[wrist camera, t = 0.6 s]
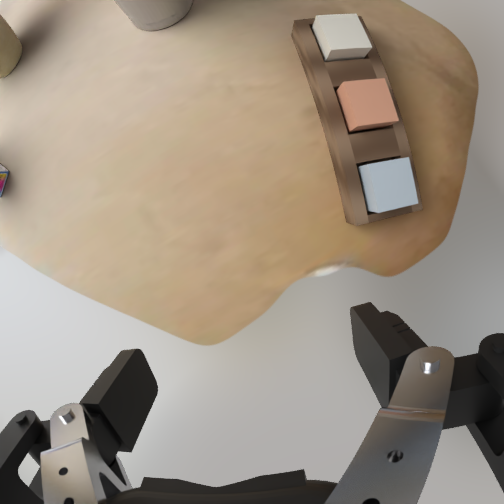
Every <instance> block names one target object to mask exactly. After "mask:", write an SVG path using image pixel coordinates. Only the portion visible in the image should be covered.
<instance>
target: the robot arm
mask: <svg viewBox="0 0 504 504" xmlns="http://www.w3.org/2000/svg"><path fill="white" fill-rule="evenodd" d="M114 1H115V2H116V3H117V4H118V6H119V7H120V8H121V9H122V10H123V12H124V13H125V14H126V15H127V16H128V18H129V19H130V20H131V21H132V22H133V24H134V25H135V26H136V27H137V28H139V29H142V30H146V31H154V30H160V29H163V28H166V27H169V26H171V25H173V24H175V23H176V22H178V21H179V20H180V19H182V18H183V17H184V16H185V15H186V14H187V13H188V11H189V10H190V8H191V5H192V0H114ZM350 315H351V324H352V334H353V344H354V350H355V354H356V357H357V360H358V362H359V363H360V365H361V367H362V369H363V371H364V373H365V375H366V377H367V379H368V381H369V383H370V385H371V387H372V389H373V391H374V393H375V395H376V397H377V399H378V401H379V403H380V405H381V407H382V408H380V410H379V411H378V413H377V415H376V417H375V419H374V421H373V423H372V425H371V427H370V429H369V431H368V433H367V435H366V437H365V438H364V440H363V442H362V444H361V446H360V448H359V450H358V451H357V453H356V455H355V457H354V458H353V460H352V462H351V463H350V465H349V467H348V468H347V470H346V472H345V473H344V475H343V476H342V478H341V479H340V481H339V483H334V482H328V481H320V480H307V479H306V475H305V471H304V469H303V470H297V471H292V472H285V473H279V474H271V475H263V476H258V477H255V478H252V479H248V480H245V481H241V482H237V483H234V484H230V485H226V486H221V487H211V486H206V485H201V484H196V483H191V482H188V481H183V480H179V479H164V478H150V477H144V478H143V481H142V484H141V487H139V488H134V489H133V488H132V486H131V484H130V482H129V479H128V477H127V475H126V472H125V470H124V467H123V465H122V463H121V461H120V459H119V458H118V457H117V455H116V454H117V452H118V451H122V452H132V450H133V448H134V445H135V443H136V441H137V438H138V436H139V434H140V432H141V429H142V427H143V425H144V423H145V420H146V418H147V416H148V413H149V411H150V409H151V407H152V405H153V402H154V400H155V398H156V396H157V392H158V386H157V382H156V379H155V377H154V375H153V373H152V371H151V369H150V367H149V365H148V362H147V360H146V358H145V356H144V354H143V352H142V351H141V350H140V349H131V350H123V351H121V352H120V353H119V354H118V356H117V357H116V358H115V359H114V361H113V362H112V363H111V365H110V366H109V367H107V368H106V369H105V370H104V371H103V372H102V373H101V375H100V376H99V377H98V379H97V380H96V381H95V383H94V385H92V387H91V388H90V389H89V391H88V392H87V393H86V395H85V396H84V397H83V399H82V400H81V401H80V403H79V404H78V403H70V404H66V405H64V406H62V407H60V408H59V409H57V410H56V411H55V412H54V413H53V415H52V416H51V419H50V420H48V421H40V419H39V418H38V417H37V415H36V414H35V412H34V411H31V410H26V411H23V412H21V413H19V414H17V415H16V416H15V417H13V418H12V420H11V421H10V422H9V423H8V425H7V426H6V427H5V429H4V430H3V431H2V432H1V433H0V504H417V502H418V500H419V497H420V495H421V492H422V490H423V487H424V485H425V482H426V479H427V477H428V474H429V471H430V468H431V465H432V462H433V459H434V456H435V452H436V449H437V446H438V442H439V439H440V435H441V431H442V430H443V429H449V428H454V427H459V426H463V425H466V426H467V428H468V429H469V431H470V433H471V434H472V436H473V438H474V439H475V441H476V443H477V444H478V446H479V448H480V450H481V451H482V453H483V455H484V457H485V458H486V460H487V462H488V463H489V465H490V467H491V469H492V471H493V473H494V474H495V477H496V479H497V480H498V482H499V484H500V486H501V488H502V490H503V492H504V334H503V333H497V334H492V335H489V336H487V337H485V338H484V339H483V340H482V341H481V343H480V345H479V351H478V353H476V354H472V355H467V356H463V357H456V358H455V357H454V356H453V355H452V354H451V352H449V351H448V350H446V349H444V348H441V347H433V346H431V347H428V346H427V345H426V344H425V343H424V342H423V341H422V340H421V339H420V338H419V336H418V335H416V333H415V332H414V331H413V330H412V329H410V327H409V326H408V325H407V324H406V323H404V321H403V320H402V319H401V318H400V317H399V316H398V315H396V314H394V313H391V312H389V311H385V312H381V313H380V312H379V311H378V310H377V308H376V307H375V306H374V305H373V304H372V303H371V302H368V303H365V304H361V305H357V306H354V307H351V309H350ZM27 453H29V454H30V455H31V456H32V458H33V459H34V460H35V461H36V462H37V463H38V464H39V466H40V468H39V470H38V472H37V474H36V475H35V477H34V478H33V480H32V482H31V484H30V486H29V487H28V486H27V485H26V484H25V483H24V482H23V481H22V480H21V479H20V477H19V475H18V467H19V466H20V464H21V462H22V461H23V459H24V458H25V456H26V454H27Z"/></svg>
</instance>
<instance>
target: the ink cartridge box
mask: <svg viewBox="0 0 504 504" xmlns="http://www.w3.org/2000/svg"><path fill="white" fill-rule="evenodd" d="M8 173H9V172H8V170H7V169H6V168H5V167H4V166H2V165H1V164H0V197H1V195H2V192H3V188H4V185H5V182H6V179H7V176H8Z"/></svg>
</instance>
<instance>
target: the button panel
mask: <svg viewBox="0 0 504 504" xmlns="http://www.w3.org/2000/svg"><path fill="white" fill-rule="evenodd" d="M358 18H359V20H360V22H361V24H362V26H363V28H364V30H365V32H366V35H367V37H368V39H369V41H370V43H371V46H372V48H371V50H370V51H369V52H368V53H367V55H366V56H365V57H364V58H363V59H356V60H343V61H333V62H324V59H323V57H322V54H321V52H320V49H319V47H318V44H317V42H316V39H315V37H314V35H313V32H312V27H313V24H314V21H315V18H313V19H303V20H294V25H293V30H292V35H291V36H292V38H293V41H294V44H295V46H296V49H297V51H298V54H299V57H300V59H301V62H302V65H303V68H304V70H305V73H306V76H307V79H308V82H309V85H310V88H311V91H312V94H313V97H314V100H315V103H316V106H317V110H318V113H319V116H320V119H321V123H322V126H323V129H324V133H325V136H326V140H327V144H328V147H329V151H330V155H331V158H332V162H333V166H334V170H335V174H336V178H337V182H338V186H339V191H340V195H341V199H342V204H343V208H344V213H345V218H346V222H347V223H350V224H353V225H356V226H358V225H362V224H366V223H370V222H374V221H378V220H382V219H386V218H390V217H394V216H398V215H402V214H406V213H410V212H415V211H419V210H423V209H422V203H421V197H420V192H419V186H418V181H417V176H416V172H415V167H414V163H413V159H412V154H411V150H410V146H409V143H408V139H407V135H406V131H405V128H404V124H403V121H402V118H401V115H400V111H399V108H398V105H397V102H396V99H395V96H394V93H393V90H392V87H391V85H390V82H389V79H388V77H387V74H386V71H385V69H384V66H383V64H382V61H381V59H380V56H379V54H378V52H377V49H376V47H375V45H374V43H373V40H372V38H371V36H370V34H369V32H368V30H367V27H366V25H365V23H364V21H363V19H362V17H361V16H358ZM380 78H385V80H386V83H387V86H388V89H389V91H390V94H391V97H392V100H393V103H394V106H395V109H396V113H397V116H398V119H399V121H397V122H395V123H393V124H391V125H389V126H387V127H382V128H375V129H368V130H362V131H355V132H349V133H348V131H347V127H346V124H345V121H344V117H343V114H342V111H341V108H340V105H339V102H338V99H337V96H336V93H335V92H336V91H337V89H338V88H339V87H340V85H341V84H342V83H343V82H346V81H355V80H366V79H380ZM406 157H409V160H410V164H411V169H412V173H413V178H414V183H415V188H416V193H417V199H418V204H414V205H410V206H405V207H401V208H397V209H393V210H389V211H384V212H380V213H376V212H371V211H367V208H366V203H365V199H364V194H363V190H362V185H361V181H360V177H359V172H358V168H357V167H359V166H363V165H367V164H372V163H378V162H383V161H389V160H394V159H400V158H406Z"/></svg>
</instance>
